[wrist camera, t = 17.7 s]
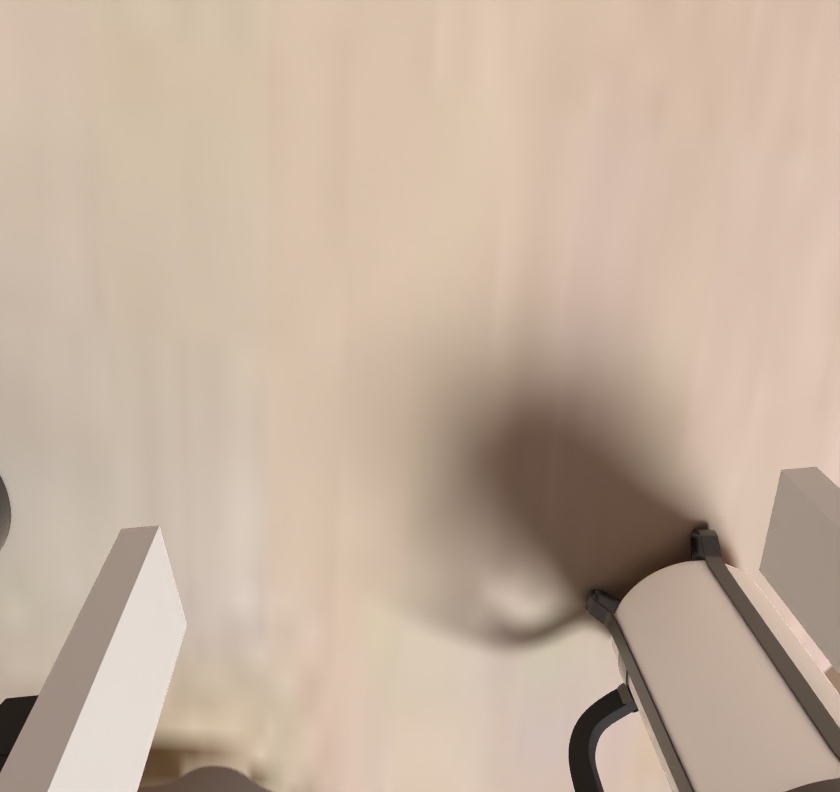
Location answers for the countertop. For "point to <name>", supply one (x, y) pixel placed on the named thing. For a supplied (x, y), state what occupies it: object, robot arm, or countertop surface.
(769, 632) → the coffee press
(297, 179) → the countertop surface
